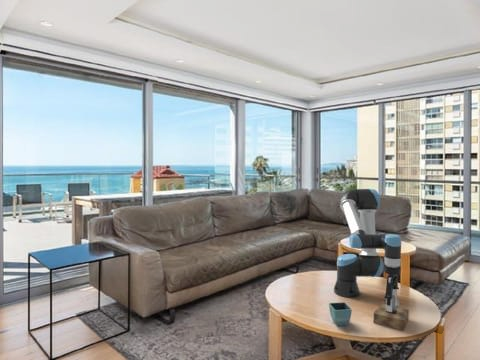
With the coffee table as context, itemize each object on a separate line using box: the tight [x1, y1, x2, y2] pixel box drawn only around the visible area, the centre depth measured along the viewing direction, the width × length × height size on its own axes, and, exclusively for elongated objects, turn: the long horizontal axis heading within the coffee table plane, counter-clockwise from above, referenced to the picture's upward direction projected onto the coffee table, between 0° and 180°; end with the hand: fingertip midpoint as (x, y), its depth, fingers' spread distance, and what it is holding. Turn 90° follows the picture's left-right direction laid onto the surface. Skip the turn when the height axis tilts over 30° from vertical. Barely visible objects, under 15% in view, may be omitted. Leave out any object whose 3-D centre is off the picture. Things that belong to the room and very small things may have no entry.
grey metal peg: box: [388, 295, 395, 314], centre depth 169 cm, size 3×3×13 cm
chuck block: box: [373, 300, 410, 331], centre depth 175 cm, size 14×26×5 cm, turn 145°
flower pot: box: [328, 301, 352, 327], centre depth 167 cm, size 9×9×9 cm
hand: (391, 306), depth 169 cm, fingers open, 13 cm apart
